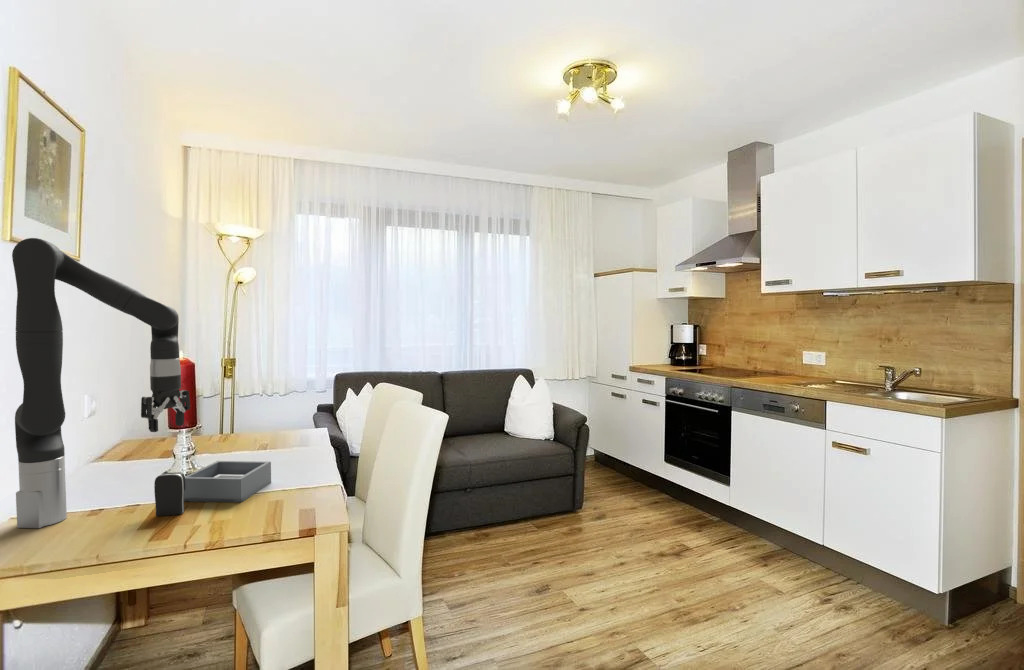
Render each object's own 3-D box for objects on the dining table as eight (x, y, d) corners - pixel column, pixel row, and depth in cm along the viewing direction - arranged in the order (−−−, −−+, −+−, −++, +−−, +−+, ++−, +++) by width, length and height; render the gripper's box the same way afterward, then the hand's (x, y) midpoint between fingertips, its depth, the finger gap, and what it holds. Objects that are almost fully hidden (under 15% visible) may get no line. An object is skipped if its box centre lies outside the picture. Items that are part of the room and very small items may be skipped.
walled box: (241, 502, 155) (241, 479, 155) (182, 501, 156) (181, 478, 155) (271, 482, 173) (270, 461, 173) (217, 481, 174) (217, 460, 173)
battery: (187, 509, 149) (186, 470, 149) (182, 515, 146) (181, 474, 145) (160, 511, 148) (159, 472, 147) (154, 517, 144) (153, 476, 143)
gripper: (153, 377, 145) (155, 435, 146) (196, 371, 159) (197, 424, 160) (132, 376, 147) (134, 433, 148) (176, 370, 161) (177, 422, 162)
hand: (167, 428), depth 154 cm, fingers open, 8 cm apart
